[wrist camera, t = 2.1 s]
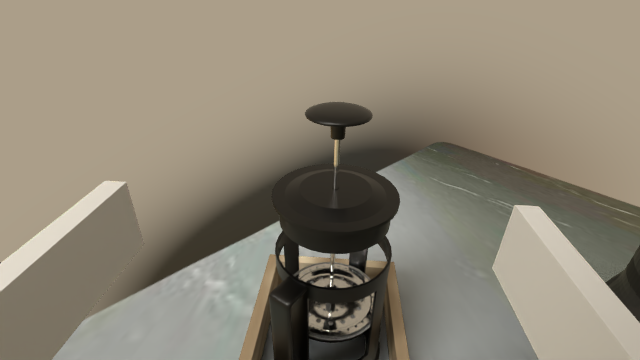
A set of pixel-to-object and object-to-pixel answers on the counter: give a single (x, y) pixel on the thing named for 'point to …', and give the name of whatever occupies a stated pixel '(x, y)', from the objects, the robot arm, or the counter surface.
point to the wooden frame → (272, 279)
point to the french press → (331, 247)
